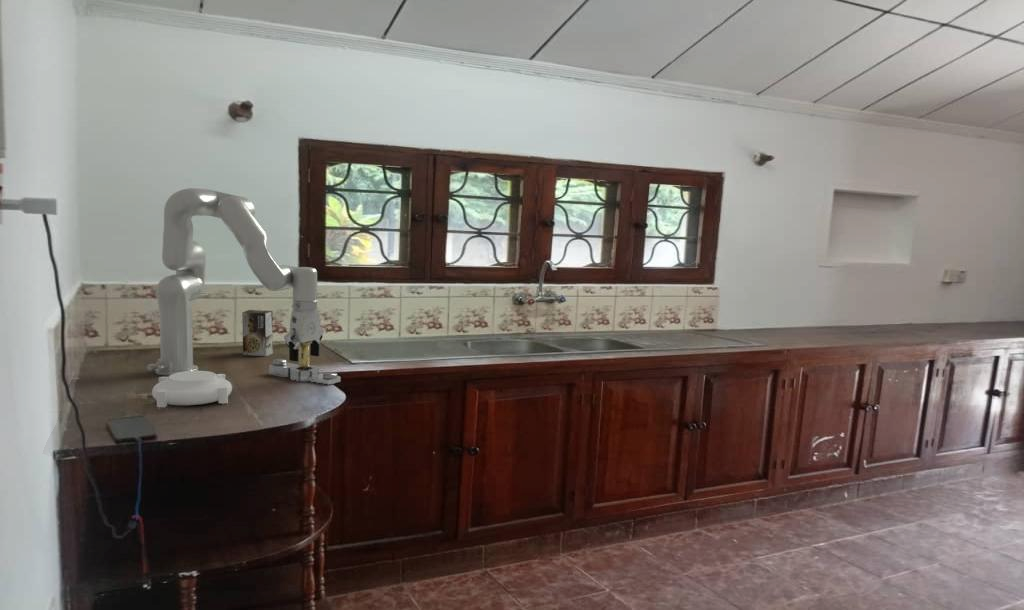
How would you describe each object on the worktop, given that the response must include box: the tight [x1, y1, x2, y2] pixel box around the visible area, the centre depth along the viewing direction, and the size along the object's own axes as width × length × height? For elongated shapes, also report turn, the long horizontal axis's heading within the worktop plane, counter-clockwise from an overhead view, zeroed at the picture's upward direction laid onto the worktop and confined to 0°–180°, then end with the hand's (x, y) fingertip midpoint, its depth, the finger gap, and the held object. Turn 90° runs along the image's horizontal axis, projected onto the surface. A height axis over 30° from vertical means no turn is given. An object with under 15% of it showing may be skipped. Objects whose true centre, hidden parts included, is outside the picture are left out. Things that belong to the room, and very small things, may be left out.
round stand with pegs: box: [151, 370, 233, 408], centre depth 200 cm, size 24×24×7 cm
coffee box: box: [241, 309, 274, 357], centre depth 260 cm, size 9×6×16 cm
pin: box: [298, 341, 312, 370], centre depth 229 cm, size 4×4×12 cm
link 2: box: [289, 371, 341, 385], centre depth 227 cm, size 9×17×3 cm, turn 65°
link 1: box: [268, 358, 320, 378], centre depth 231 cm, size 9×17×4 cm, turn 65°
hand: (304, 358), depth 228 cm, fingers open, 9 cm apart
